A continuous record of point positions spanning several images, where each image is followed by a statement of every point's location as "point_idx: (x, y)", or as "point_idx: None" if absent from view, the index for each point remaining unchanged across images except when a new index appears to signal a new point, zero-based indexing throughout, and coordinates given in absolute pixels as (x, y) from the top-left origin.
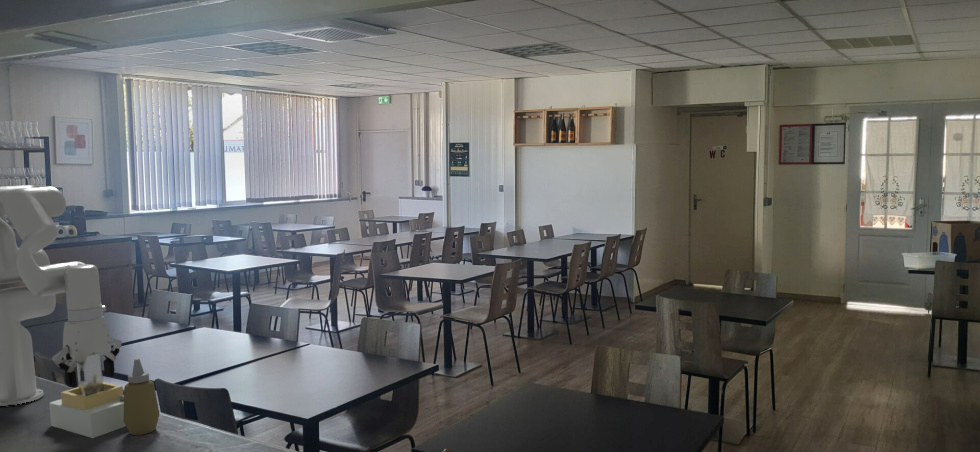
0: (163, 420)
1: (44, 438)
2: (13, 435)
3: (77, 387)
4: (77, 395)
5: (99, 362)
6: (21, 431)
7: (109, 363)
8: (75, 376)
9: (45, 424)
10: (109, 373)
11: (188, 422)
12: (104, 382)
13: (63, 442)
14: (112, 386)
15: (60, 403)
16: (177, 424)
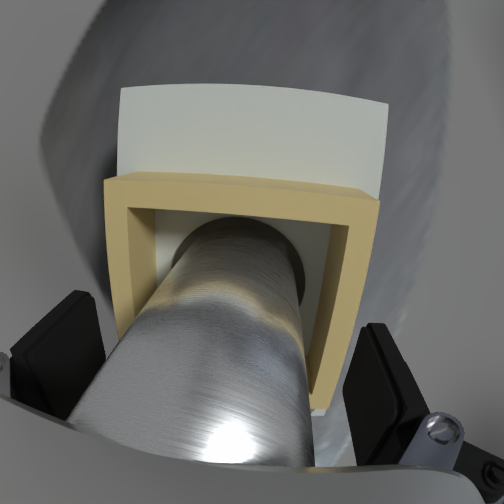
0: (342, 402)
1: (91, 204)
2: (68, 83)
3: (210, 187)
4: (126, 330)
5: None
6: (95, 66)
7: (359, 459)
8: (74, 403)
9: (165, 66)
10: (349, 389)
11: (343, 445)
12: (361, 271)
13: (107, 291)
14: (318, 367)
15: (136, 157)
16: (326, 439)
